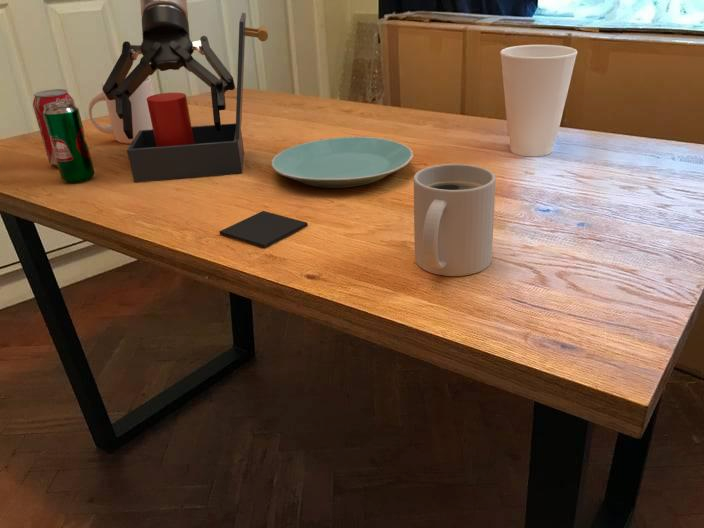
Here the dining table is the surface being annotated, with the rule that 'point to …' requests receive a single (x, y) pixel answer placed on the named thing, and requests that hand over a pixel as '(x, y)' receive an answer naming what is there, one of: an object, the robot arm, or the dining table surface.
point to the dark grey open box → (187, 155)
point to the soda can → (68, 141)
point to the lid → (243, 31)
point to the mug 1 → (139, 112)
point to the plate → (342, 161)
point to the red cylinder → (170, 119)
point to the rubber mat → (263, 229)
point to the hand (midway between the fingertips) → (173, 131)
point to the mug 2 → (454, 218)
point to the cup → (535, 95)
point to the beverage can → (38, 106)
